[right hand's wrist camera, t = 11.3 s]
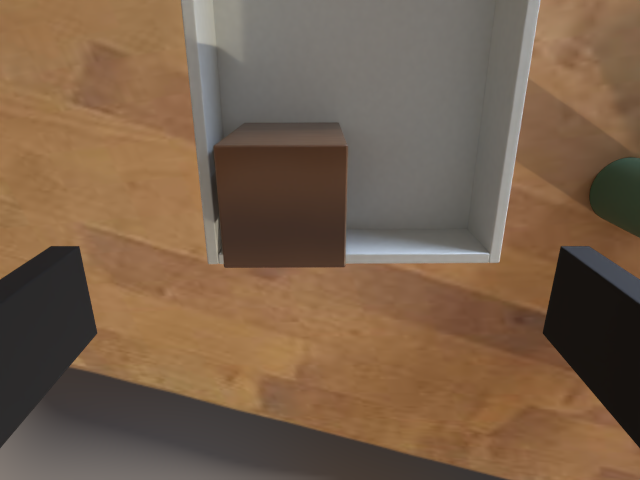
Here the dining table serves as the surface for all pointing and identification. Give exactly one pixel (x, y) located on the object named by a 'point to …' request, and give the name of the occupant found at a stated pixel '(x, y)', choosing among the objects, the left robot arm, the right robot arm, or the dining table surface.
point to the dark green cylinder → (618, 194)
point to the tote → (376, 109)
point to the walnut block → (283, 195)
